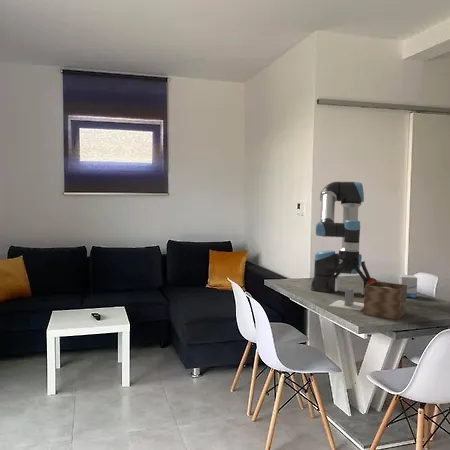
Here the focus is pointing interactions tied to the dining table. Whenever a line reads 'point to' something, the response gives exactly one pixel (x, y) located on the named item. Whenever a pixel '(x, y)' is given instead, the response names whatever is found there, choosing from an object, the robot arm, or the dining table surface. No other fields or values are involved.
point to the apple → (370, 281)
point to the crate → (385, 299)
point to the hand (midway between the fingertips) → (349, 292)
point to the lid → (348, 301)
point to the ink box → (409, 284)
